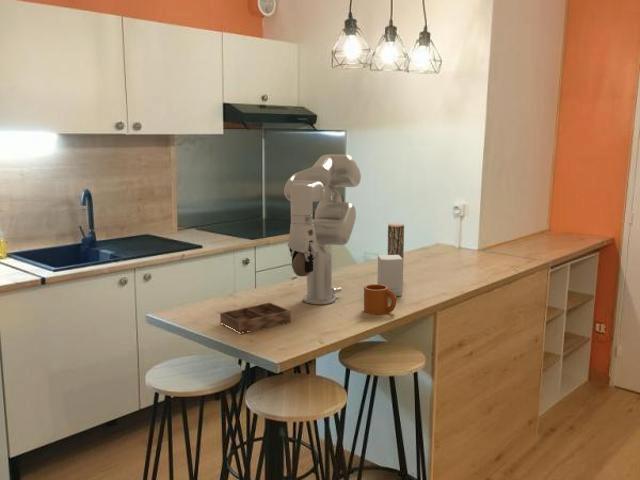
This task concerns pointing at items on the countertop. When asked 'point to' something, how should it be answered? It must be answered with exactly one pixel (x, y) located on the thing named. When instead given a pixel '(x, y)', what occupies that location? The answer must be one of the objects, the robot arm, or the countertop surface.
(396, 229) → the bark covered log
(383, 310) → the mug
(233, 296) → the countertop surface
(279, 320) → the divided wooden tray
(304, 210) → the robot arm
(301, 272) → the vase
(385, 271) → the supplement box
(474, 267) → the countertop surface
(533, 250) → the countertop surface
